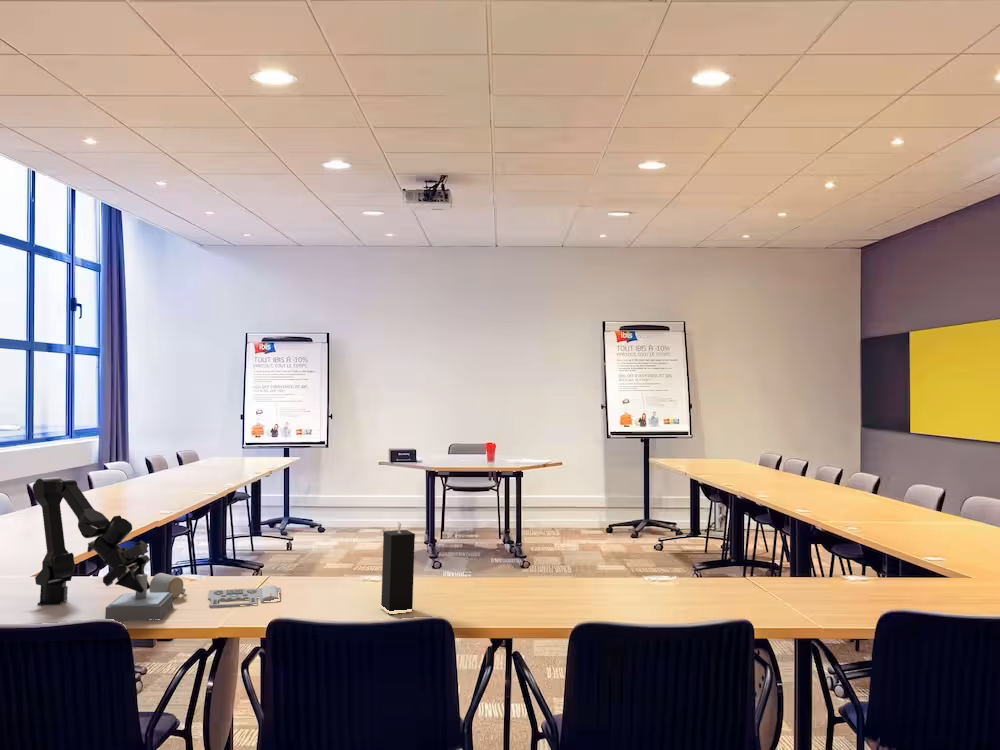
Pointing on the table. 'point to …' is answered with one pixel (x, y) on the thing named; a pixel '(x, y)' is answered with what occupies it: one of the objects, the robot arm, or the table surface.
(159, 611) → the gray square slab
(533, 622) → the table surface
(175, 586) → the ceramic mug
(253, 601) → the office telephone
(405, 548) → the black pillar candle
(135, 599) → the square plate with knob
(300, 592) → the table surface
